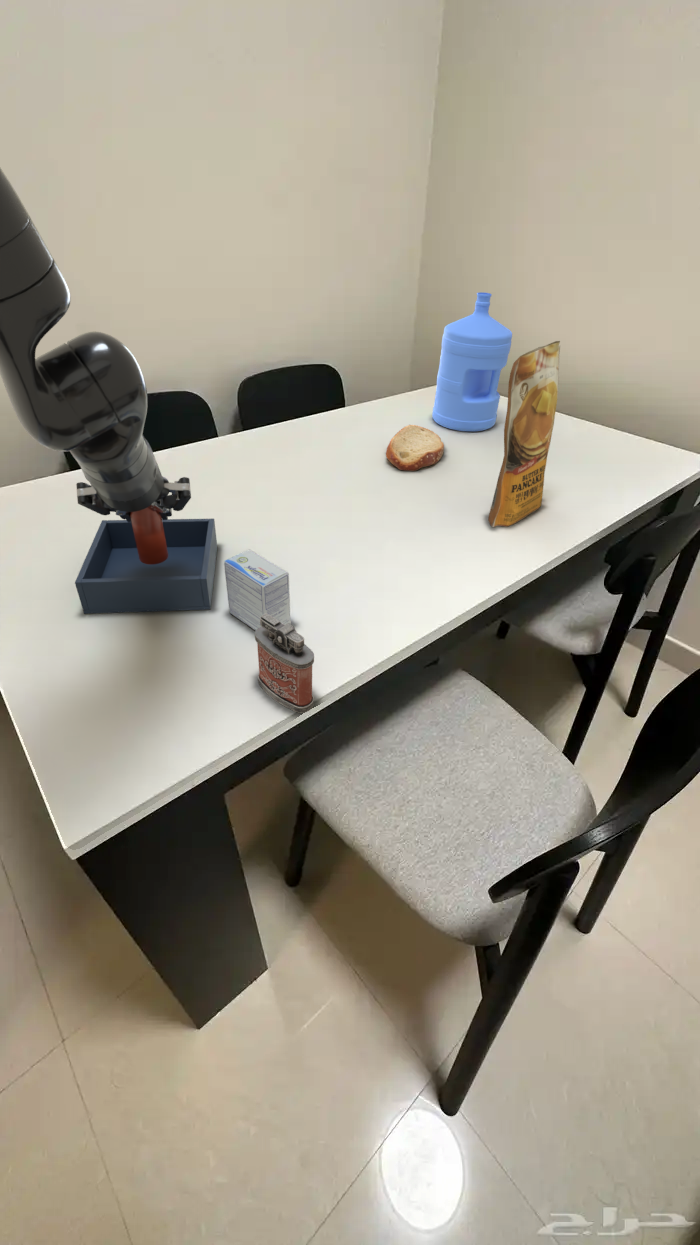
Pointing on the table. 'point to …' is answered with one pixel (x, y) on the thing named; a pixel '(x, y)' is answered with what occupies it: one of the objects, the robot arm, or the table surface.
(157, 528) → the terracotta red cylinder
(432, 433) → the slice of bread
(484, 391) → the water jug
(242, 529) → the table surface
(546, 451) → the pancake mix bag
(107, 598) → the bin
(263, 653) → the lighter
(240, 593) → the medicine box
